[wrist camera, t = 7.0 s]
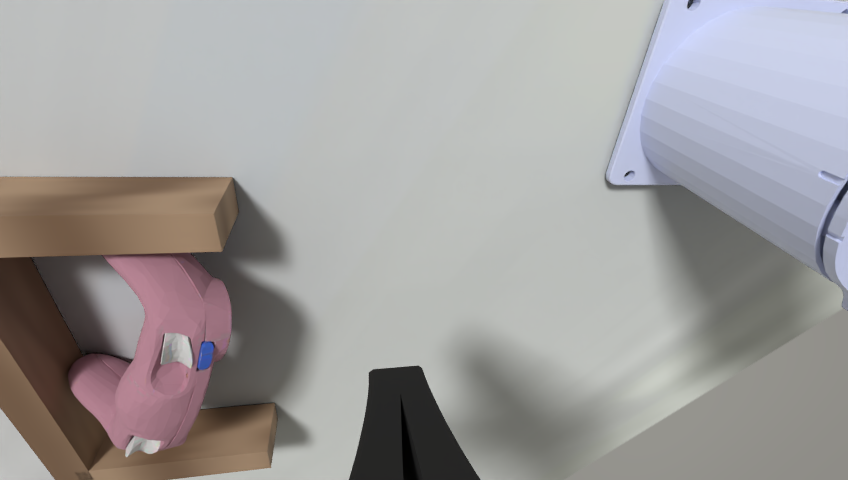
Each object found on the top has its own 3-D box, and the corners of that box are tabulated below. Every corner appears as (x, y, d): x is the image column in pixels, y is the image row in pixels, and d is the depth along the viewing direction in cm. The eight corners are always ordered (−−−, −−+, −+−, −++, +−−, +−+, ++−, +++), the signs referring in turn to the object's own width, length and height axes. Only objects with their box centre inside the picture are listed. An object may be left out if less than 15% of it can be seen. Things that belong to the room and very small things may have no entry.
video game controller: (171, 354, 23) (198, 472, 19) (64, 368, 20) (72, 512, 16) (220, 215, 19) (268, 328, 15) (97, 204, 16) (118, 343, 12)
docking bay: (232, 177, 17) (213, 213, 14) (277, 419, 26) (270, 467, 23) (-65, 176, 15) (-145, 218, 13) (93, 437, 24) (64, 491, 21)
